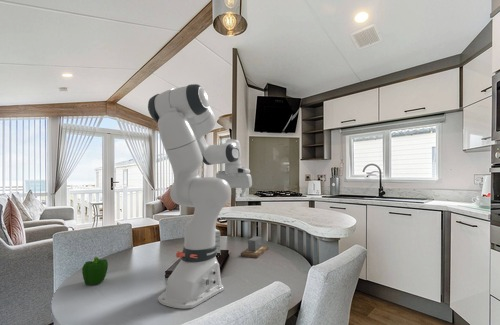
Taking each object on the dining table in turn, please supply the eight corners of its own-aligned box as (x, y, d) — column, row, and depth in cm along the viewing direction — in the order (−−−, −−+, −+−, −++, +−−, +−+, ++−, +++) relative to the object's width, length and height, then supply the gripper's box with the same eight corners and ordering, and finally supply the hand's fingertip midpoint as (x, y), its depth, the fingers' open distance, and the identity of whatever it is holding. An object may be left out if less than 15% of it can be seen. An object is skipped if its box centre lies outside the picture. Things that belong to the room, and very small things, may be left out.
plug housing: (255, 251, 120) (255, 240, 121) (248, 251, 122) (248, 240, 122) (261, 247, 129) (261, 236, 129) (255, 246, 130) (254, 236, 131)
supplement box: (202, 254, 124) (202, 229, 125) (216, 252, 127) (216, 228, 128) (206, 258, 117) (206, 232, 118) (220, 256, 120) (220, 230, 121)
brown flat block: (257, 257, 116) (257, 245, 116) (240, 255, 120) (240, 244, 120) (268, 248, 131) (268, 238, 131) (253, 247, 134) (253, 236, 135)
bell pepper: (85, 280, 94) (85, 254, 94) (109, 277, 97) (109, 251, 97) (78, 289, 86) (79, 260, 87) (104, 285, 89) (105, 257, 90)
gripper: (213, 171, 128) (213, 197, 127) (248, 169, 120) (248, 197, 119) (219, 171, 133) (219, 196, 132) (253, 169, 125) (253, 196, 124)
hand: (233, 196), depth 125 cm, fingers open, 8 cm apart
